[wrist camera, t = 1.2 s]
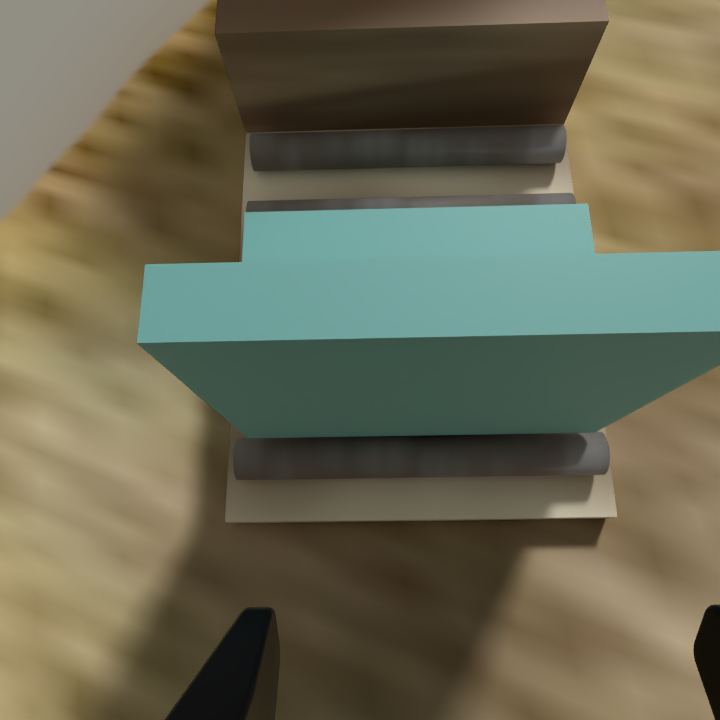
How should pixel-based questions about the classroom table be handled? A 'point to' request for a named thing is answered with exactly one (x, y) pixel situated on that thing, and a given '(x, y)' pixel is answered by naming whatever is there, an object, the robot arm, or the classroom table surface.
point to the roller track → (410, 190)
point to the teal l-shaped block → (431, 323)
